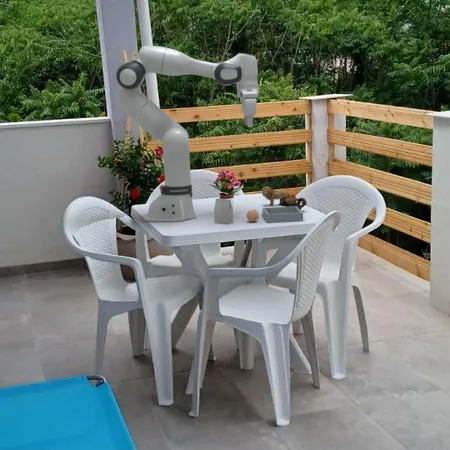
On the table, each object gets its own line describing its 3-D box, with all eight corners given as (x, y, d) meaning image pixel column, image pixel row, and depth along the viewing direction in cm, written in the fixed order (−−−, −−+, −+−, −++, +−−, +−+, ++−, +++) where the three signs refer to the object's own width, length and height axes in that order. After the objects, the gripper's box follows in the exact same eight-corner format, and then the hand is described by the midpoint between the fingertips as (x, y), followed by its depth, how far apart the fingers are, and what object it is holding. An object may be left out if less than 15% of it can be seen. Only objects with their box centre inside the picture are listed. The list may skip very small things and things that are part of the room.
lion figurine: (263, 207, 355) (262, 187, 353) (261, 205, 360) (261, 185, 358) (295, 205, 356) (294, 186, 354) (293, 203, 361) (292, 184, 359)
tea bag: (228, 224, 320) (227, 200, 318) (214, 223, 324) (213, 199, 321) (233, 222, 323) (232, 198, 321) (219, 221, 327) (218, 197, 325)
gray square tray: (267, 222, 320) (266, 214, 320) (262, 215, 335) (262, 207, 334) (303, 221, 321) (303, 212, 321) (296, 214, 336) (296, 206, 335)
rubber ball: (247, 223, 321) (247, 211, 320) (246, 220, 326) (245, 209, 325) (259, 222, 321) (259, 210, 320) (258, 220, 326) (257, 208, 325)
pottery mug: (280, 215, 338) (276, 197, 341) (283, 220, 347) (279, 203, 350) (307, 207, 336) (302, 190, 339) (309, 213, 345) (305, 196, 348)
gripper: (237, 92, 334) (238, 124, 337) (242, 94, 314) (243, 128, 317) (252, 91, 335) (252, 124, 338) (258, 93, 315) (259, 127, 318)
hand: (248, 126), depth 327 cm, fingers open, 8 cm apart
